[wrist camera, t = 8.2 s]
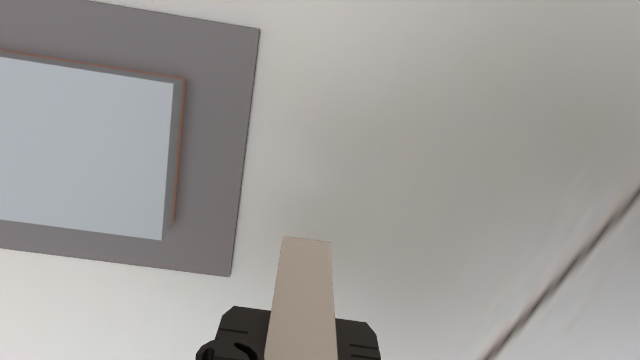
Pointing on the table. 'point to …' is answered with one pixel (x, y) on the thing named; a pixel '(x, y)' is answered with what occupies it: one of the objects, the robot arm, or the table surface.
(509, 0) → the table surface
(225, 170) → the mat
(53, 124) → the slab
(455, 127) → the table surface
